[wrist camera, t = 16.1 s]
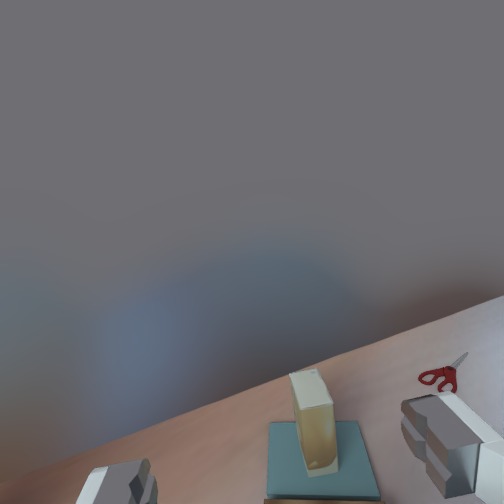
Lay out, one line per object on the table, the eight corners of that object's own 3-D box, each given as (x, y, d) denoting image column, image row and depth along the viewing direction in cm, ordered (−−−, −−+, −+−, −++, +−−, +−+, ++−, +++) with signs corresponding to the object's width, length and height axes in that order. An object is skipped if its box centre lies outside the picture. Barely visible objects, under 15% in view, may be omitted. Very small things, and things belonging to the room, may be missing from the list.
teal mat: (267, 498, 33) (266, 494, 33) (270, 426, 43) (269, 422, 43) (380, 500, 31) (380, 496, 31) (357, 424, 41) (356, 420, 41)
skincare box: (296, 435, 40) (287, 371, 37) (323, 429, 40) (316, 365, 37) (309, 481, 34) (299, 409, 30) (341, 475, 34) (334, 402, 30)
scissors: (416, 381, 47) (415, 377, 47) (451, 348, 54) (451, 344, 53) (450, 400, 43) (450, 396, 42) (484, 361, 49) (485, 357, 49)
